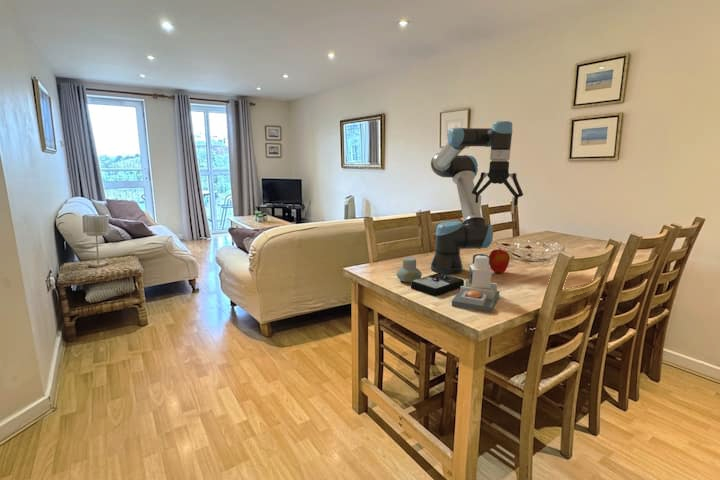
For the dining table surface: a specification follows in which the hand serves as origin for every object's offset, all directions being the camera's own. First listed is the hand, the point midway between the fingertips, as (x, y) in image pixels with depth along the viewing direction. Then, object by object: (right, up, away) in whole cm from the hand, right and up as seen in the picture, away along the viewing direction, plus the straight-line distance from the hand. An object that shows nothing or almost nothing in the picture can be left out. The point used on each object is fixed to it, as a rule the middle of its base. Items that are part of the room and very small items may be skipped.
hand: (495, 212), depth 159 cm
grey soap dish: (-13, -35, -16) cm, 41 cm away
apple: (+9, -28, +20) cm, 35 cm away
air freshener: (-36, -30, +8) cm, 47 cm away
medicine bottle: (-11, -29, -14) cm, 34 cm away
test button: (-16, -33, -22) cm, 42 cm away
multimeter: (-25, -32, -1) cm, 41 cm away
